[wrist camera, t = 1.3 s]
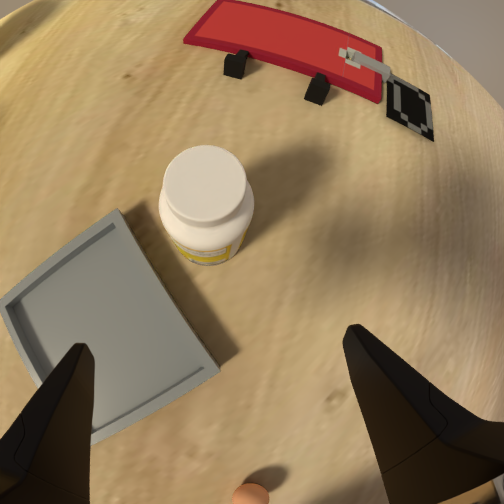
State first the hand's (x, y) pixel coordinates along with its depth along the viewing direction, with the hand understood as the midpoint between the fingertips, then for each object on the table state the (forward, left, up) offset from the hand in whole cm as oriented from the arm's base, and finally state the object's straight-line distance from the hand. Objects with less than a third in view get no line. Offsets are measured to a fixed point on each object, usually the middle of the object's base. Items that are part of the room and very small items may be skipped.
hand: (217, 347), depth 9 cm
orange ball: (-14, +7, -13) cm, 20 cm away
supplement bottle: (+6, -3, -13) cm, 15 cm away
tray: (+4, +9, -13) cm, 16 cm away
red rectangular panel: (+17, -25, -14) cm, 33 cm away
